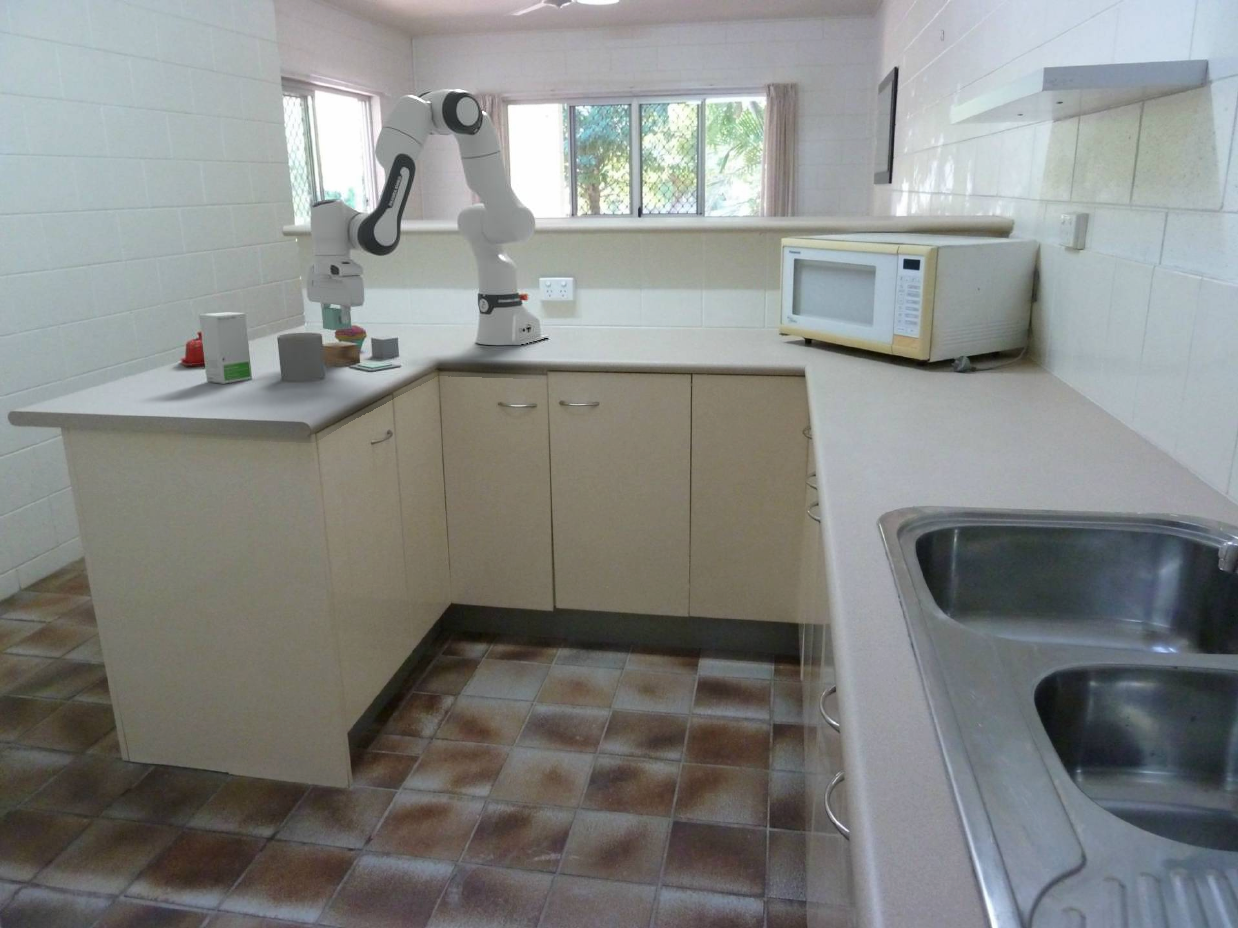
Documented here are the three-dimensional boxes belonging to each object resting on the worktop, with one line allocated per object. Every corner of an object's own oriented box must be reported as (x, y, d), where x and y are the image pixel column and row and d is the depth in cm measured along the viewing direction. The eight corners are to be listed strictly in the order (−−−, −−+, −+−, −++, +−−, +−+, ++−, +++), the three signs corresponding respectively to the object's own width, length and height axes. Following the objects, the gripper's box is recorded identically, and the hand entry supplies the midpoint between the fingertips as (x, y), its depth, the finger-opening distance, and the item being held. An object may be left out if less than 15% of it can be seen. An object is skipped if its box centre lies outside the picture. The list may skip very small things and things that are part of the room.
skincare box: (222, 384, 213) (214, 316, 209) (204, 381, 217) (196, 314, 212) (254, 378, 220) (246, 312, 216) (236, 376, 223) (228, 310, 219)
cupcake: (362, 353, 254) (359, 309, 251) (331, 353, 255) (327, 309, 251) (371, 348, 263) (368, 305, 259) (341, 348, 263) (337, 305, 259)
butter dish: (179, 362, 242) (175, 329, 240) (227, 359, 248) (223, 326, 245) (184, 369, 232) (179, 335, 230) (233, 365, 238) (229, 332, 236)
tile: (379, 362, 240) (379, 360, 240) (401, 366, 235) (400, 364, 235) (349, 367, 234) (349, 364, 234) (370, 372, 228) (370, 369, 228)
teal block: (323, 328, 238) (321, 308, 236) (340, 326, 241) (338, 307, 240) (334, 330, 234) (332, 310, 233) (351, 328, 238) (350, 308, 237)
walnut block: (344, 360, 245) (342, 341, 244) (360, 363, 241) (358, 344, 239) (320, 364, 240) (319, 344, 239) (336, 367, 236) (335, 347, 234)
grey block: (387, 354, 254) (386, 335, 253) (399, 356, 251) (397, 337, 250) (372, 356, 250) (370, 337, 249) (383, 358, 247) (382, 339, 246)
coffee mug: (323, 381, 218) (319, 338, 215) (278, 382, 216) (274, 339, 213) (328, 370, 230) (325, 330, 228) (286, 372, 228) (282, 331, 226)
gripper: (298, 265, 238) (302, 319, 241) (345, 269, 225) (349, 326, 229) (319, 263, 242) (324, 317, 246) (367, 268, 230) (371, 324, 233)
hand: (336, 322), depth 237 cm, fingers closed on teal block, 5 cm apart
